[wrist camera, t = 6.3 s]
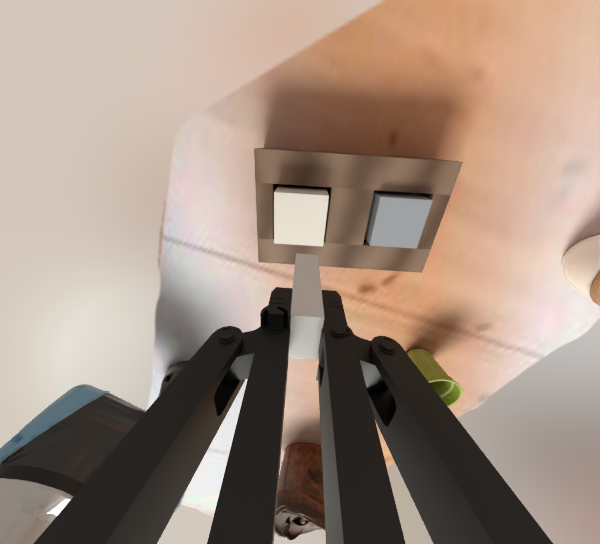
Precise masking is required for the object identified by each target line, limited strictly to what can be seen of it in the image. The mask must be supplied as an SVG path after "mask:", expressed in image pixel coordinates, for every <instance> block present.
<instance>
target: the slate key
mask: <svg viewBox="0 0 600 544" xmlns="http://www.w3.org/2000/svg"><path fill="white" fill-rule="evenodd" d="M432 201H433V200H431V199H429V198H427V197H424V196H422V195H420V194H415V193H400V192H384V191H374V194H373V199H372V204H371V209H370V213H369V218H368V223H367V228H366V233H365V239H366V241H367V242H368V244H369V245H370V246H384V247H399V248H415V249H417V246H418V243H419V240H420V237H421V234H422V231H423V228H424V225H425V222H426V219H427V216H428V213H429V210H430V207H431V204H432Z"/></svg>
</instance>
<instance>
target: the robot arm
mask: <svg viewBox="0 0 600 544" xmlns="http://www.w3.org/2000/svg"><path fill="white" fill-rule="evenodd" d="M318 355H319V366H318V372H317V378H316V380H318V384H319V405H320V426H321V446H322V467H323V487H324V508H325V529H326V544H405V540H404V536H403V532H402V529H401V524H400V520H399V516H398V512H397V509H396V504H395V500H394V496H393V492H392V488H391V484H390V480H389V476H388V472H387V468H386V464H385V460H384V456H383V452H382V448H381V444H380V440H379V435H378V431H377V427H376V423H377V425H378V427H379V429H380V431H381V433H382V435H383V437H384V440H385V442H386V444H387V446H388V448H389V450H390V452H391V454H392V456H393V459H394V461H395V463H396V465H397V467H398V469H399V471H400V473H401V476H402V477H403V479H404V482H405V484H406V486H407V488H408V490H409V492H410V495H411V497H412V499H413V501H414V503H415V505H416V507H417V509H418V511H419V514H420V516H421V518H422V520H423V522H424V524H425V526H426V528H427V531H428V533H429V535H430V536H431V539H432V541H433V543H434V544H553V543H552V542H551V541H550V539H549V538H548V537H547V535H546V534H545V533H544V531H543V530H542V529H541V527H540V526H539V525H538V524H537V522H536V521H535V520H534V518H533V517H532V516H531V514H530V513H529V512H528V511H527V509H526V508H525V507H524V505H523V504H522V503H521V501H520V500H519V499H518V498H517V496H516V495H515V494H514V492H513V491H512V490H511V488H510V487H509V486H508V485H507V483H506V482H505V481H504V479H503V478H502V477H501V476H500V474H499V473H498V472H497V470H496V469H495V468H494V466H493V465H492V464H491V462H490V461H489V460H488V459H487V457H486V456H485V455H484V453H483V452H482V451H481V450H480V448H479V447H478V446H477V444H476V443H475V442H474V440H473V439H472V438H471V436H470V435H469V434H468V433H467V431H466V430H465V429H464V427H463V426H462V425H461V423H460V422H459V421H458V420H457V418H456V417H455V416H454V414H453V413H452V412H451V410H450V409H449V408H448V407H447V405H446V404H445V403H444V401H443V400H442V399H441V397H440V396H439V395H438V394H437V392H436V391H435V390H434V388H433V387H432V386H431V384H430V383H429V382H428V380H427V379H426V378H425V377H424V375H423V374H422V373H421V371H420V370H419V369H418V367H417V366H416V365H415V364H414V362H413V361H412V360H411V358H410V357H409V356H408V354H407V353H406V352H405V351H404V349H403V348H402V347H401V345H400V344H399V343H397V342H396V341H395V340H393V339H391V338H389V337H386V336H378V337H374V339H373V340H372V341H368V340H365V339H362V338H360V337H357V336H356V335H354V334H353V332H352V330H351V329H350V328H349V327H348V326H347V322H346V318H345V313H344V309H343V305H342V300H341V296H340V295H339V294H338V293H337V292H336V291H329V290H321V281H320V271H319V262H318V255H313V254H299V253H296V260H295V271H294V281H293V288H279V287H276V288H275V289H274V290H273V291H272V292H271V297H270V301H269V305H268V306H266V307H265V308H264V309H262V311H261V327H259V328H258V329H256V330H254V331H250V332H244V333H242V331H241V330H240V329H239V328H236V327H232V326H227V327H222V328H220V329H218V330H216V331H215V332H214V333H213V334H212V335H211V336H210V337H209V339H208V340H207V341H206V342H205V343H204V344H203V346H202V347H201V348H200V349H199V350H198V351H197V353H196V354H195V355H194V356H193V357H192V358H191V360H190V361H186V362H180V363H177V364H175V365H173V366H172V367H171V368H170V369H169V370H168V372H167V373H166V375H165V376H164V378H163V381H162V384H161V389H160V393H159V397H158V398H157V399H156V401H155V402H154V403H153V404H152V405H151V406H150V408H149V409H148V410H147V411H145V410H143V409H141V408H139V407H137V406H135V405H132V404H131V403H129V402H127V401H124V400H122V399H120V398H118V397H116V396H114V395H112V394H110V393H109V391H103V390H100V389H98V388H95V387H93V386H90V385H79V386H76V387H74V388H72V389H70V390H69V391H68V392H66V393H65V394H64V395H62V396H61V397H60V398H58V399H57V400H56V401H55V402H53V403H52V404H51V405H50V406H48V407H47V408H46V409H45V410H44V411H43V412H41V413H40V414H39V415H38V416H37V417H35V418H34V419H33V420H32V421H31V422H30V423H28V424H27V425H26V426H25V427H24V428H23V429H22V430H21V431H20V432H19V433H18V434H17V435H15V436H14V437H13V438H12V439H11V440H10V441H8V442H7V443H6V444H5V445H4V446H2V447H1V448H0V544H157V542H158V540H159V538H160V537H161V535H162V533H163V531H164V529H165V527H166V525H167V524H168V522H169V520H170V518H171V516H172V514H173V513H174V512H175V511H176V510H177V508H178V507H179V506H180V504H181V501H182V499H183V496H184V494H185V492H186V489H187V487H188V485H189V483H190V481H191V479H192V477H193V476H194V474H195V472H196V470H197V468H198V466H199V464H200V463H201V461H202V459H203V457H204V455H205V453H206V451H207V450H208V448H209V446H210V444H211V442H212V440H213V438H214V437H215V435H216V433H217V431H218V429H219V427H220V425H221V424H222V422H223V420H224V418H225V416H226V414H227V412H228V411H229V409H230V407H231V405H232V403H233V401H234V400H235V398H236V396H237V394H238V392H239V390H240V388H241V387H242V385H243V383H244V381H245V379H247V378H248V381H247V385H246V389H245V393H244V397H243V401H242V405H241V409H240V413H239V417H238V421H237V425H236V429H235V434H234V438H233V442H232V446H231V450H230V454H229V458H228V462H227V466H226V470H225V474H224V478H223V482H222V486H221V490H220V494H219V498H218V502H217V506H216V510H215V514H214V518H213V522H212V526H211V530H210V534H209V538H208V543H207V544H273V542H274V530H275V518H276V506H277V493H278V481H279V469H280V456H281V444H282V431H283V419H284V407H285V394H286V382H287V370H288V358H293V359H308V360H318ZM374 418H375V419H374ZM375 420H376V423H375Z"/></svg>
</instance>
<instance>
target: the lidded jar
mask: <svg viewBox="0 0 600 544" xmlns="http://www.w3.org/2000/svg"><path fill="white" fill-rule="evenodd" d="M562 266H563V274H564V277H565V279H566V280H567V282H568V283H569V284H570V285H571V286H572V287H573V288H574V289H575V290H576V291H578V292H579V293H580V294H582V295H584V296H585V297H587V298H589V299H590V300H592V301H594V302H595V303H596V304H598V305H599V306H600V235H596V236H592V237H588V238H585V239H582V240H580V241H578V242H577V243H575V244H574V245H572V246H571V247H570V248H569V249H568V250H567V251H566V253H565V254H564V256H563V258H562Z"/></svg>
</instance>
